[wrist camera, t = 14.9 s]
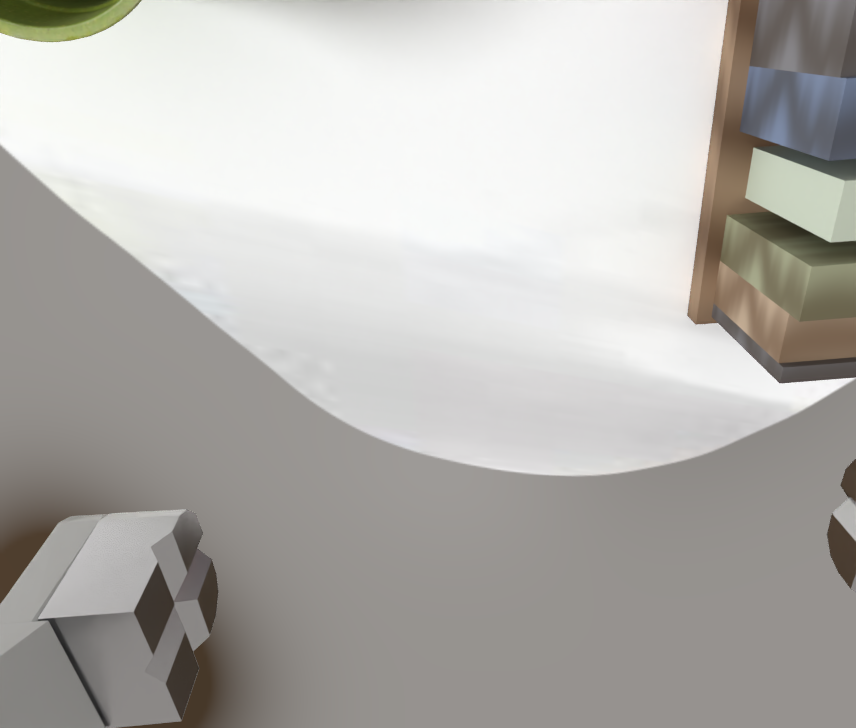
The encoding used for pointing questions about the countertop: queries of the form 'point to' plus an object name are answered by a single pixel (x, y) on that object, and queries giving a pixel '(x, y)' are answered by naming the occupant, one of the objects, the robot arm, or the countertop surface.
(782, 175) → the pale green box
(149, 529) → the robot arm
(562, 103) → the countertop surface
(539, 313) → the countertop surface
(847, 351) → the book rack
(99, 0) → the plant pot
